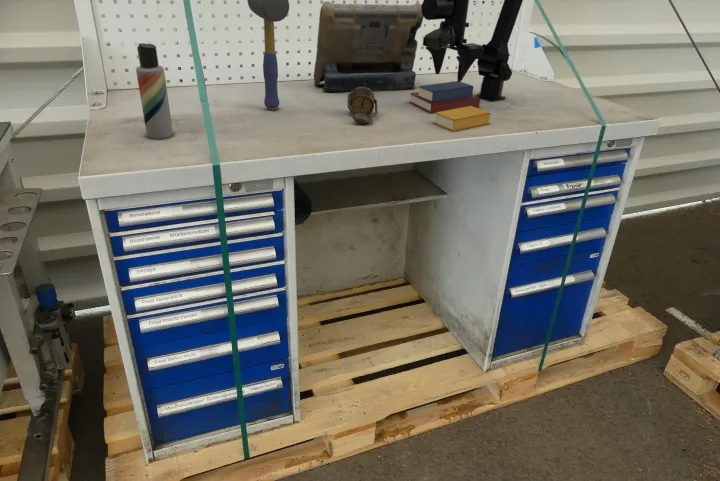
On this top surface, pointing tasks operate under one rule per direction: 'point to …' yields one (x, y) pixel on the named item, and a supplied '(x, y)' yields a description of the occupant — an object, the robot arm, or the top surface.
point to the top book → (462, 118)
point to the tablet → (367, 46)
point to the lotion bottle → (153, 93)
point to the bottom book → (443, 103)
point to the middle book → (445, 91)
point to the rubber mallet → (270, 44)
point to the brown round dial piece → (362, 105)
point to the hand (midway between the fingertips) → (448, 77)
